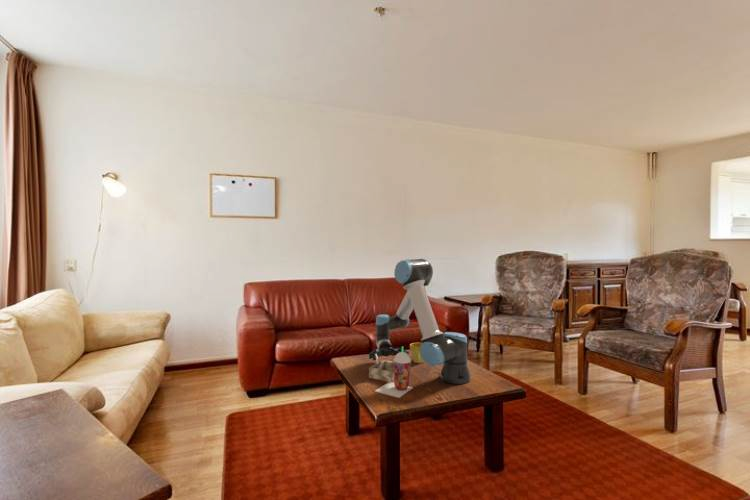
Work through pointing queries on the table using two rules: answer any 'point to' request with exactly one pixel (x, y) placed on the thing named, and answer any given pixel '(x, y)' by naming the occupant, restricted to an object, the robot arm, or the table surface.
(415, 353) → the plant pot
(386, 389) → the mat
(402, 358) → the smoothie
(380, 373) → the holder
